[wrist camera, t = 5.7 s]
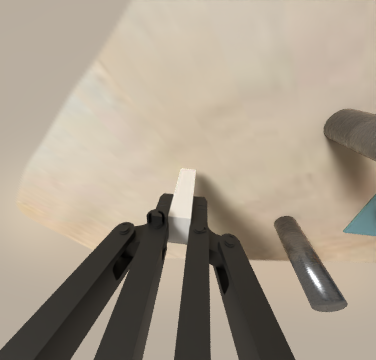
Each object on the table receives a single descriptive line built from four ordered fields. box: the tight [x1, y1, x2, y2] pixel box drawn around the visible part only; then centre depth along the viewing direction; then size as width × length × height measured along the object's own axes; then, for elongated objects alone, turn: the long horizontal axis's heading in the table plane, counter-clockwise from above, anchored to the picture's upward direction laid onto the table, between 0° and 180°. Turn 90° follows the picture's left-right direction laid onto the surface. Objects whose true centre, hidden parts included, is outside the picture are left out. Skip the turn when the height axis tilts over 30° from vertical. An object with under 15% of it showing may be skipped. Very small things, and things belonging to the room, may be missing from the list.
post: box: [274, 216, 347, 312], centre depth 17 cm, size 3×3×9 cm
